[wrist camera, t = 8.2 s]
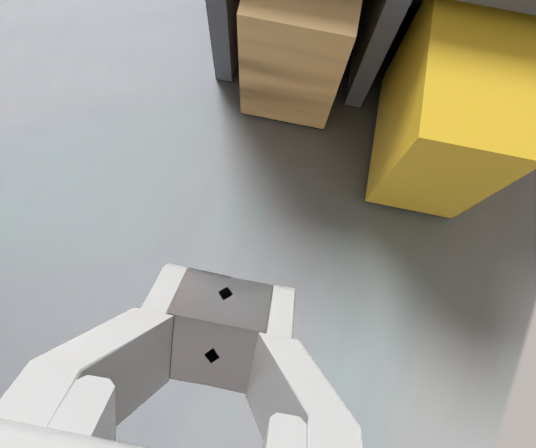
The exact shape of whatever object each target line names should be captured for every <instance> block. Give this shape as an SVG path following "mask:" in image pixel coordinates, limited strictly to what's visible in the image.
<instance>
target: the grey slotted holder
mask: <svg viewBox="0 0 536 448" xmlns="http://www.w3.org/2000/svg"><path fill="white" fill-rule="evenodd" d="M205 1H206V8H207V16H208V23H209V31H210V38H211V46H212V54H213V61H214V69H215V76H216V79H219V80H224V81H229V82H232V80H233V76H234V72H235V68H236V64H237V59H238V36H237V11H238V7H239V3H240V0H205ZM422 1H423V0H362V6H361V12H360V18H359V24H358V30H357V36H356V40H355V45H354V50H353V56H352V62H351V68H350V74H349V80H348V86H347V92H346V98H345V104H346V105H351V106H356V107H361V106H362V104H363V101H364V99H365V97H366V95H367V93H368V91H369V89H370V87H371V85H372V83H373V81H374V79H375V77H376V74H377V72H378V70H379V68H380V66H381V64H382V62H383V60H384V58H385V56H386V54H387V52H388V50H389V48H390V45H391V43H392V41H393V39H394V37H395V35H396V33H397V31H398V29H399V27H400V25H401V23H402V21H403V18H404V16H405V14H406V12H407V10H408V8H409V7H412V8H417V9H419V7H420V5H421V3H422ZM457 1H463V2H468V3H473V4H478V5H483V6H488V7H494V8H499V9H504V10H509V11H514V12H519V13H524V14H530V15H535V16H536V0H457Z"/></svg>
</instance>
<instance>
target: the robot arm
mask: <svg viewBox="0 0 536 448" xmlns="http://www.w3.org/2000/svg"><path fill="white" fill-rule="evenodd" d="M295 297H296V290H295V288H291V287H285V286H279V285H269V284H264V283H259V282H254V281H249V280H243V279H238V278H233V277H230V276H225V275H221V274H216V273H211V272H207V271H202V270H198V269H193V268H187V267H183V266H178V265H174V264H169V263H167V264H166V265H165V266H163V268H162V270H161V272H160V274H159V276H158V277H157V279H156V281H155V283H154V285H153V287H152V288H151V290H150V292H149V294H148V296H147V298H146V299H145V301H144V303H143V305H142V307H141V309H139V308H132V309H130V310H128V311H126V312H124V313H122V314H120V315H118V316H116V317H114V318H113V319H111V320H109V321H107V322H105V323H103V324H101V325H99V326H97V327H95V328H93V329H91V330H89V331H87V332H85V333H83V334H81V335H79V336H77V337H75V338H73V339H71V340H70V341H68V342H66V343H64V344H62V345H60V346H58V347H56V348H54V349H52V350H50V351H48V352H46V353H44V354H42V355H40V356H38V357H36V358H34V359H32V360H30V361H29V362H28V364H27V365H26V366H25V368H24V369H23V370H22V372H21V373H20V374H19V376H18V377H17V378H16V379H15V381H14V382H13V383H12V385H11V386H10V387H9V389H8V390H7V391H6V392H5V394H4V395H3V396H2V398H1V399H0V448H148V447H143V446H138V445H133V444H128V443H123V442H118V441H116V426H117V425H118V424H119V423H121V422H122V421H123V420H124V419H125V418H126V417H127V416H129V415H130V414H131V413H132V412H133V411H134V410H136V409H137V408H138V407H139V406H140V405H141V404H143V403H144V402H145V401H146V400H147V399H148V398H150V397H151V396H152V395H153V394H154V393H155V392H157V391H158V390H159V389H160V388H161V387H162V386H164V385H165V384H166V383H167V382H168V381H169V379H174V380H180V381H185V382H191V383H197V384H203V385H209V386H213V387H217V388H222V389H226V390H231V391H235V392H239V393H244V394H246V398H247V401H248V403H249V406H250V408H251V411H252V413H253V416H254V418H255V421H256V423H257V426H258V428H259V431H260V433H261V435H262V438H263V440H264V441H263V445H262V448H363V447H362V437H361V427H360V426H359V424H358V423H357V422H356V420H355V419H354V417H353V416H352V415H351V413H350V412H349V410H348V409H347V407H346V406H345V405H344V403H343V402H342V400H341V399H340V398H339V396H338V395H337V393H336V392H335V390H334V389H333V388H332V386H331V385H330V383H329V382H328V380H327V379H326V378H325V376H324V375H323V373H322V372H321V371H320V369H319V368H318V366H317V365H316V363H315V362H314V361H313V359H312V358H311V356H310V355H309V353H308V352H307V351H306V349H305V348H304V346H303V345H302V344H301V342H300V341H299V340H296V339H293V327H294V312H295Z"/></svg>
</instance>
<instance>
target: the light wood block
mask: <svg viewBox="0 0 536 448" xmlns="http://www.w3.org/2000/svg"><path fill="white" fill-rule="evenodd" d="M361 6H362V0H240V3H239V7H238V11H237V36H238V60H239V85H240V109H241V113H244V114H249V115H254V116H259V117H264V118H269V119H274V120H279V121H285V122H290V123H295V124H300V125H305V126H310V127H315V128H320V129H324V127H325V124H326V121H327V119H328V116H329V113H330V110H331V107H332V105H333V102H334V99H335V96H336V93H337V90H338V88H339V85H340V82H341V79H342V76H343V74H344V71H345V68H346V65H347V62H348V59H349V57H350V54H351V51H352V48H353V45H354V43H355V40H356V36H357V30H358V24H359V18H360V12H361Z"/></svg>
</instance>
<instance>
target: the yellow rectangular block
mask: <svg viewBox="0 0 536 448" xmlns="http://www.w3.org/2000/svg"><path fill="white" fill-rule="evenodd" d="M535 169H536V16H535V15H530V14H524V13H519V12H514V11H509V10H504V9H499V8H494V7H488V6H483V5H478V4H473V3H468V2H463V1H457V0H423V1H422V3H421V5H420V7H419V9H418V11H417V13H416V15H415V17H414V19H413V21H412V23H411V25H410V27H409V29H408V30H407V32H406V34H405V36H404V38H403V40H402V42H401V44H400V46H399V48H398V50H397V52H396V54H395V56H394V58H393V60H392V62H391V64H390V66H389V67H388V69H387V71H386V73H385V75H384V77H383V79H382V85H381V92H380V99H379V106H378V113H377V120H376V127H375V134H374V141H373V148H372V155H371V162H370V169H369V175H368V182H367V189H366V196H365V201H367V202H372V203H377V204H382V205H387V206H392V207H397V208H402V209H407V210H412V211H417V212H422V213H427V214H432V215H437V216H442V217H447V218H454V217H455V216H457V215H459V214H460V213H462V212H464V211H466V210H467V209H469V208H471V207H472V206H474V205H476V204H477V203H479V202H481V201H483V200H484V199H486V198H488V197H489V196H491V195H493V194H494V193H496V192H498V191H500V190H501V189H503V188H505V187H506V186H508V185H510V184H511V183H513V182H515V181H517V180H518V179H520V178H522V177H523V176H525V175H527V174H528V173H530V172H532V171H534V170H535Z"/></svg>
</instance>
